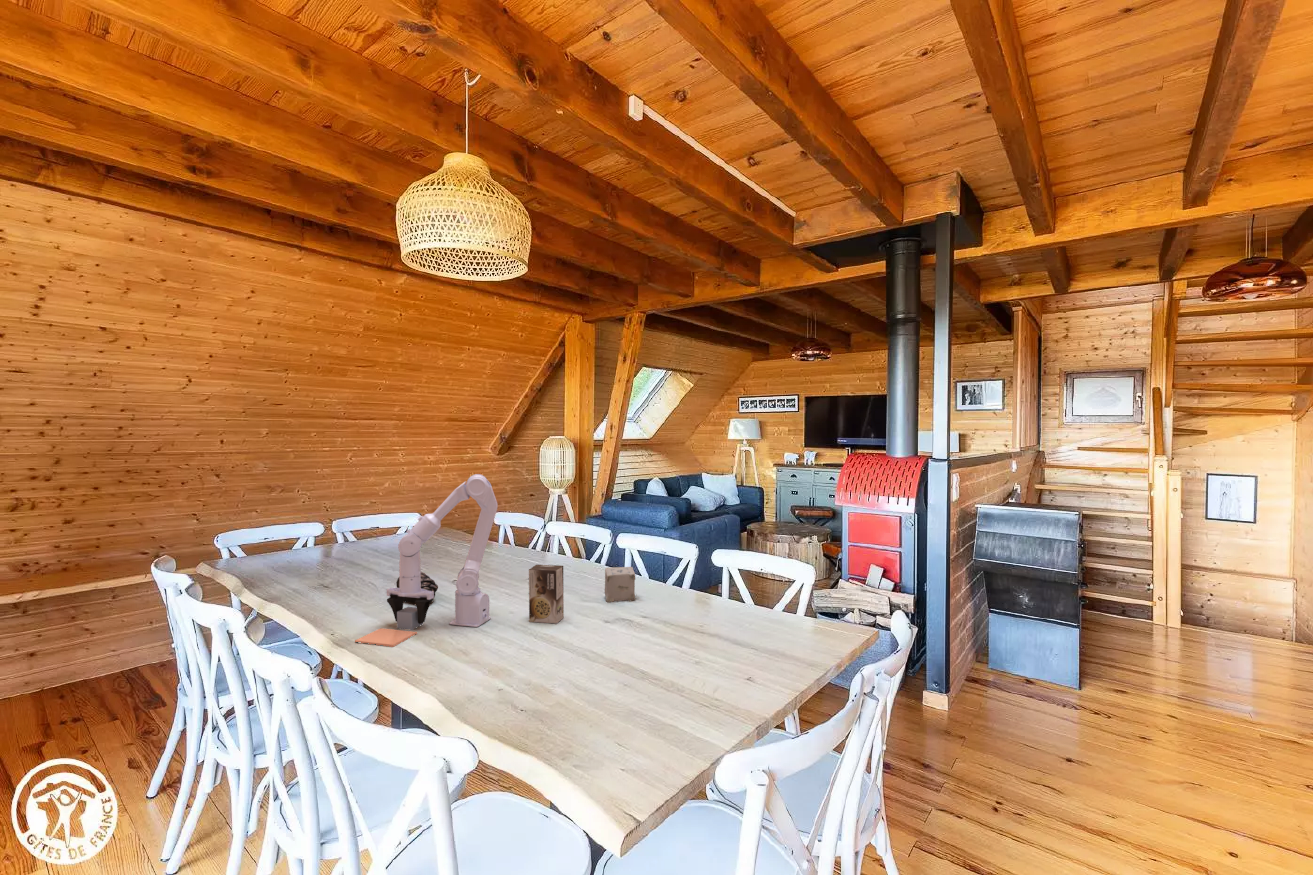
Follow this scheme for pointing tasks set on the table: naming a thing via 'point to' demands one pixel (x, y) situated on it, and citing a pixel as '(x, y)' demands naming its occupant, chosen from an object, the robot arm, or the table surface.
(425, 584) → the pine cone
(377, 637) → the terracotta tile
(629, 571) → the brown cardboard box
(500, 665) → the table surface
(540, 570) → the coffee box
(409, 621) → the slate block
